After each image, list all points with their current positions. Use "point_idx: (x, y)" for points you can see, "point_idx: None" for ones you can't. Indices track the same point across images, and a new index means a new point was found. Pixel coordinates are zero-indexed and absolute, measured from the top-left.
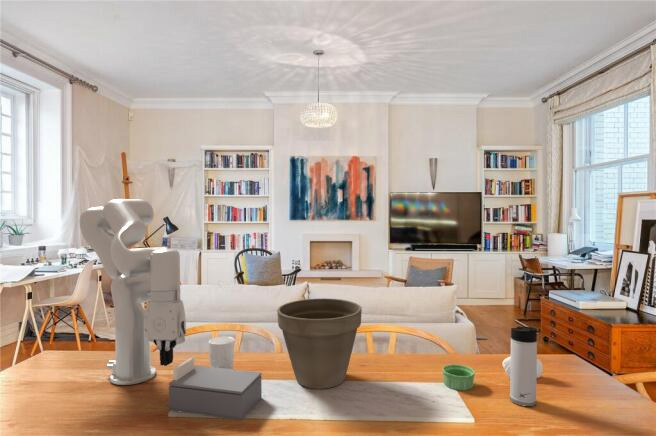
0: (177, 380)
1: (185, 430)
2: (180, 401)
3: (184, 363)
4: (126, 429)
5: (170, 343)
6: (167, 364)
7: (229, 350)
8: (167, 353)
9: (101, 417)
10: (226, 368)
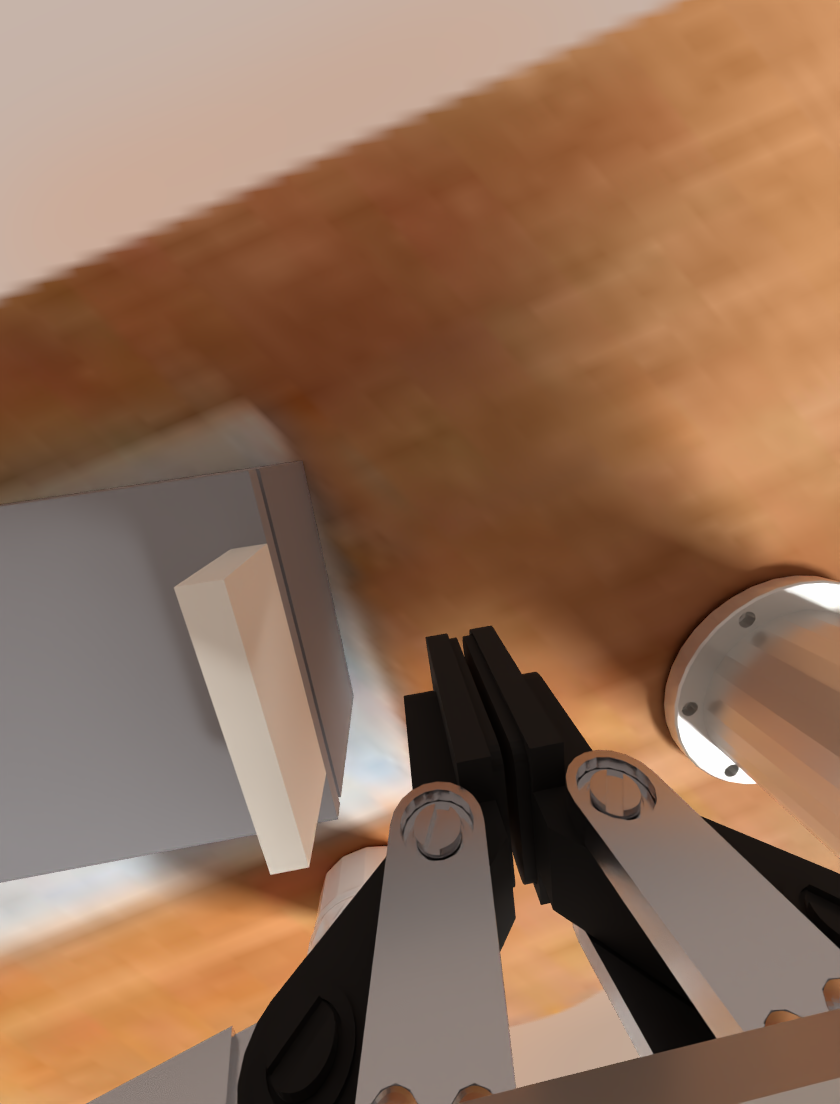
0: (222, 548)
1: (4, 295)
2: (196, 476)
3: (230, 735)
4: (350, 159)
5: (373, 1001)
6: (430, 666)
7: None
8: (447, 762)
9: (608, 230)
10: (320, 909)
